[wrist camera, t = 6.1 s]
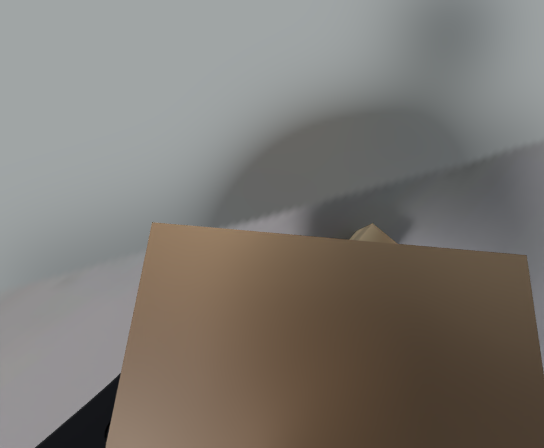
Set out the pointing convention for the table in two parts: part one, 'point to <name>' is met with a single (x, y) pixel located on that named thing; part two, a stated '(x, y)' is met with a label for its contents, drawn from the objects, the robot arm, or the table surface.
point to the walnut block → (327, 345)
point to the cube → (372, 235)
